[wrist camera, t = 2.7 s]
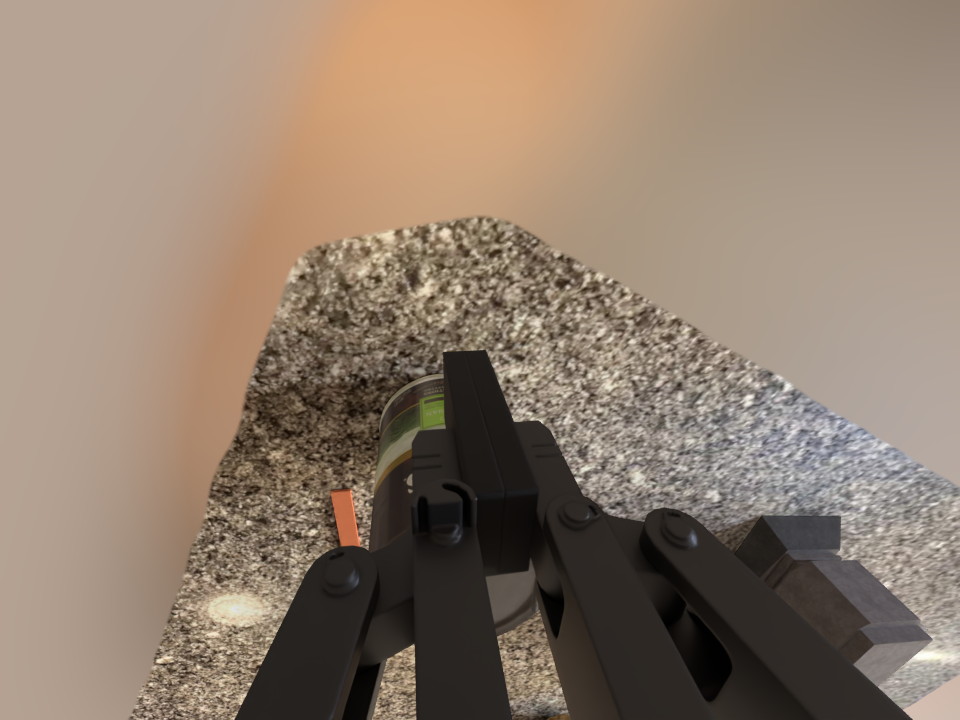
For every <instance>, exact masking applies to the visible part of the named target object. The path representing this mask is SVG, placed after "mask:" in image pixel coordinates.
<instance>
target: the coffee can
mask: <svg viewBox="0 0 960 720" xmlns="http://www.w3.org/2000/svg"><path fill="white" fill-rule="evenodd" d="M432 429H446V426H445V419H444V374H434V375H429V376H425V377H422V378H419V379H417V380H414V381H412V382H410V383H408V384H407V385H405V386H404V387H402V388H401V389H399V390H398V391H397V392H396V393H395V394H394V395H393V396H392V397H391V399H390V400H389V401H388V403H387V404H386V406H385V408H384V410H383V412H382V415H381V419H380V425H379V431H380V436H379V447H378V458H377V468H376V478H375V490H374V500H373V510H372V521H371V529H370V541H369V552H370V553H371V552H374V551H376V550H378V549H381V548H383V547H385V546H388V545H389V544H391V543H393V542H395V541H396V540H398V539H399V538H400V537H401V536H402V535H403V534H404V533H405V532H406V530H407V529H408V528H409V526H410V523H411V521H412V520H411V502H412V498H413V492H412V444H411V443H412V441H413V439H414V438H415V436H416V434H417V432H418V431H419V430H432ZM535 577H536V574H535V570H534V567H533V564H532V560H531V557H530V564H529V571H526V572H519V573H511V574H504V575H496V576H489V577H486V582H487V587H488V593H489V598H490V603H491V609H492V614H493V619H494V625H495V630H496V635H497V636H499V635H501V634H504V633H506V632H508V631H510V630H512V629H514V628H516V627H518V626H519V625H521V624H523V623H524V622H525V621H527V620H528V619H530V618H531V617H532V616H534V615H535V614H532V605H531V604H532V597H533V590H534V584H535ZM538 611H539V606H538V609H537V612H538ZM414 645H415V644H414Z"/></svg>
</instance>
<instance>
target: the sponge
mask: <svg viewBox="0 0 960 720" xmlns="http://www.w3.org/2000/svg"><path fill="white" fill-rule="evenodd" d="M547 720H571V718H570V715H568V714H560V715H556V716H553V717H550V718H548V719H547Z"/></svg>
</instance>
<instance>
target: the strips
mask: <svg viewBox="0 0 960 720" xmlns="http://www.w3.org/2000/svg"><path fill="white" fill-rule="evenodd" d="M331 497H332V502H333V507H334V512H335V518H336V523H337V528H338V533H339V538H340V543H341V546H351V545H355V546H358V547H360V544H359V538H358V532H357V525H356V519H355V513H354V507H353V501H352V495H351V489H340V490H331Z"/></svg>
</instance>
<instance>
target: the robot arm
mask: <svg viewBox="0 0 960 720" xmlns="http://www.w3.org/2000/svg"><path fill="white" fill-rule="evenodd" d="M443 371H444V419H445V426H446V429H432V430H419V431H418V432H417V434H416V436H415V438H414V439H413V441H412V443H411V444H412V492H413V498H412V502H411V520H412V521H411V523H410V526H409V528H408V529H407V530H406V532H405V533H404V534H403V535H402V536H401V537H400V538H399V539H398V540H396V541H395V542H393V543H391V544H389V545H388V546H385V547H383V548H381V549H378V550H376V551H374V552H371V553H370V552H369V551H368V550H366V549H365V548H362V547H358V546H355V545H351V546H340V547H338V548H335V549H333V550H330V551H328V552H326V553H325V554H323V555H322V556H321V557H320V558H318V559H317V560H316V561H315V562H314V563H313V564H312V566H311V567H310V569H309V570H308V571H307V573H306V575H305V577H304V579H303V581H302V583H301V585H300V587H299V589H298V591H297V593H296V595H295V597H294V599H293V601H292V603H291V605H290V608H289V610H288V612H287V614H286V616H285V618H284V620H283V622H282V624H281V626H280V628H279V630H278V632H277V634H276V636H275V638H274V640H273V642H272V644H271V646H270V648H269V650H268V652H267V654H266V657H265V659H264V661H263V663H262V665H261V667H260V669H259V671H258V673H257V675H256V677H255V679H254V681H253V683H252V685H251V687H250V689H249V691H248V693H247V695H246V697H245V699H244V701H243V703H242V706H241V708H240V710H239V712H238V714H237V716H236V718H235V720H372V717H373V713H374V709H375V705H376V701H377V697H378V693H379V689H380V685H381V681H382V677H383V673H384V669H385V665H386V661H387V658H389V657H391V656H393V655H395V654H397V653H398V652H400V651H402V650H404V649H406V648H408V647H409V646H411V645H413V644H415V672H416V718H417V720H512V715H511V710H510V704H509V699H508V694H507V688H506V683H505V678H504V672H503V667H502V662H501V656H500V651H499V646H498V641H497V635H496V630H495V625H494V619H493V614H492V609H491V603H490V598H489V593H488V587H487V582H486V577H489V576H496V575H504V574H511V573H519V572H526V571H529V564H530V557H531V560H532V564H533V567H534V570H535V574H536V577H535V584H534V590H533V597H532V604H531V605H532V614H537V609H538V606H539V610H540V613H541V617H542V620H543V624H544V627H545V631H546V634H547V638H548V641H549V645H550V648H551V652H552V655H553V659H554V662H555V666H556V669H557V673H558V676H559V680H560V683H561V687H562V690H563V694H564V697H565V701H566V704H567V708H568V711H569V715H570V718H571V720H913V719H912V718H910V717H909V716H908V715H907V714H906V713H905V712H904V711H903V710H902V709H901V708H900V707H899V706H897V705H896V704H895V703H894V702H893V701H892V700H891V699H890V698H889V697H888V696H887V695H886V694H884V693H883V692H882V691H881V690H880V689H879V688H878V687H877V686H876V685H875V684H874V683H873V682H872V681H870V680H869V679H868V678H867V677H866V676H865V675H864V674H863V673H862V672H861V671H860V670H859V669H857V668H856V667H855V666H854V665H853V664H852V663H851V662H850V661H849V660H848V659H847V658H846V657H845V656H843V655H842V654H841V653H840V652H839V651H838V650H837V649H836V648H835V647H834V646H833V645H832V644H830V643H829V642H828V641H827V640H826V639H825V638H824V637H823V636H822V635H821V634H820V633H819V632H818V631H816V630H815V629H814V628H813V627H812V626H811V625H810V624H809V623H808V622H807V621H806V620H805V619H803V618H802V617H801V616H800V615H799V614H798V613H797V612H796V611H795V610H794V609H793V608H792V607H791V606H789V605H788V604H787V603H786V602H785V601H784V600H783V599H782V598H781V597H780V596H779V595H778V594H776V593H775V592H774V591H773V590H772V589H771V588H770V587H769V586H768V585H767V584H766V583H765V582H763V581H762V580H761V579H760V578H759V577H758V576H757V575H756V574H755V573H754V572H753V571H752V570H751V569H749V568H748V567H747V566H746V565H745V564H744V563H743V562H742V561H741V560H740V559H739V558H738V557H736V556H735V555H734V554H733V553H732V552H731V551H730V550H729V549H728V548H727V547H726V546H725V545H724V544H722V543H721V542H720V541H719V540H718V539H717V538H716V537H715V536H714V535H713V534H712V533H711V532H709V531H708V530H707V529H706V528H705V527H704V526H703V525H702V524H701V523H700V522H698V521H697V520H695V519H694V518H693V517H691V516H690V515H688V514H686V513H683V512H681V511H679V510H675V509H669V508H660V509H654V510H653V511H651V512H650V513H648V514H647V516H646V519H645V522H642V521H636V520H630V519H624V518H618V517H614V516H610V515H608V514H605V513H604V512H603V510H602V509H601V508H600V507H599V505H598V504H597V503H595V502H594V501H592V500H591V499H589V498H588V497H585V496H583V494H582V492H581V490H580V488H579V486H578V484H577V482H576V480H575V478H574V477H573V475H572V473H571V471H570V469H569V467H568V465H567V463H566V461H565V459H564V457H563V456H562V453H561V451H560V449H559V447H558V446H557V443H556V441H555V439H554V437H553V435H552V433H551V431H550V430H549V429H548V428H547V427H545V426H544V425H543V424H542V423H541V422H539V421H524V422H514V421H513V418H512V416H511V413H510V411H509V408H508V406H507V403H506V400H505V398H504V395H503V393H502V390H501V388H500V385H499V382H498V380H497V377H496V375H495V372H494V370H493V367H492V365H491V362H490V359H489V357H488V354H487V352H486V350H477V351H455V352H443Z"/></svg>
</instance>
